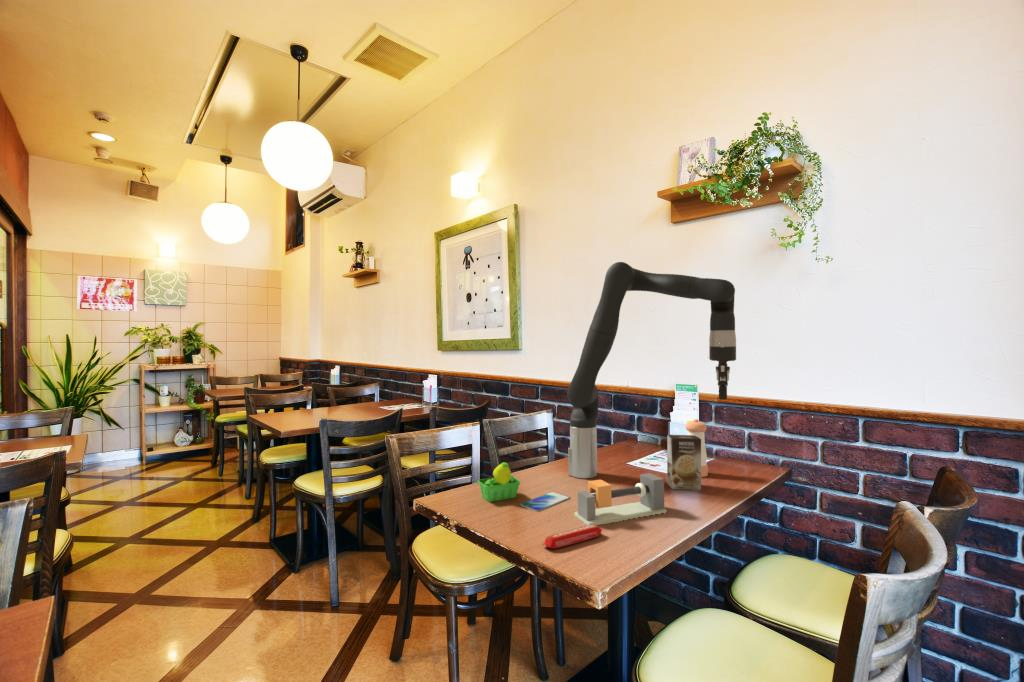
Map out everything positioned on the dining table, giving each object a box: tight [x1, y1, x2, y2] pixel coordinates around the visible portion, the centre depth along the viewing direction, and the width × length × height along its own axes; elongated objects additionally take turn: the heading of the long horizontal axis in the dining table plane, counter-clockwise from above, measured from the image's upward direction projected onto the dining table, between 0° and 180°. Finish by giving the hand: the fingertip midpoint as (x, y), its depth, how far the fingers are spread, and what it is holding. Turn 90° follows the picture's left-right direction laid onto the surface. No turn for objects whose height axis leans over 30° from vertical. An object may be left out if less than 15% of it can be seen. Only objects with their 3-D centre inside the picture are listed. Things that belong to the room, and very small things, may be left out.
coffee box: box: [666, 434, 702, 491], centre depth 146 cm, size 9×6×16 cm
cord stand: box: [573, 472, 668, 526], centre depth 124 cm, size 24×8×9 cm, turn 110°
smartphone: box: [520, 491, 571, 513], centre depth 134 cm, size 7×1×15 cm
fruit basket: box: [477, 462, 521, 503], centre depth 138 cm, size 11×9×11 cm
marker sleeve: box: [587, 479, 613, 509], centre depth 121 cm, size 4×5×6 cm
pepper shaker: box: [685, 418, 709, 478], centre depth 159 cm, size 7×7×19 cm
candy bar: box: [542, 525, 604, 549], centre depth 107 cm, size 16×4×3 cm, turn 119°
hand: (722, 397), depth 141 cm, fingers open, 8 cm apart
